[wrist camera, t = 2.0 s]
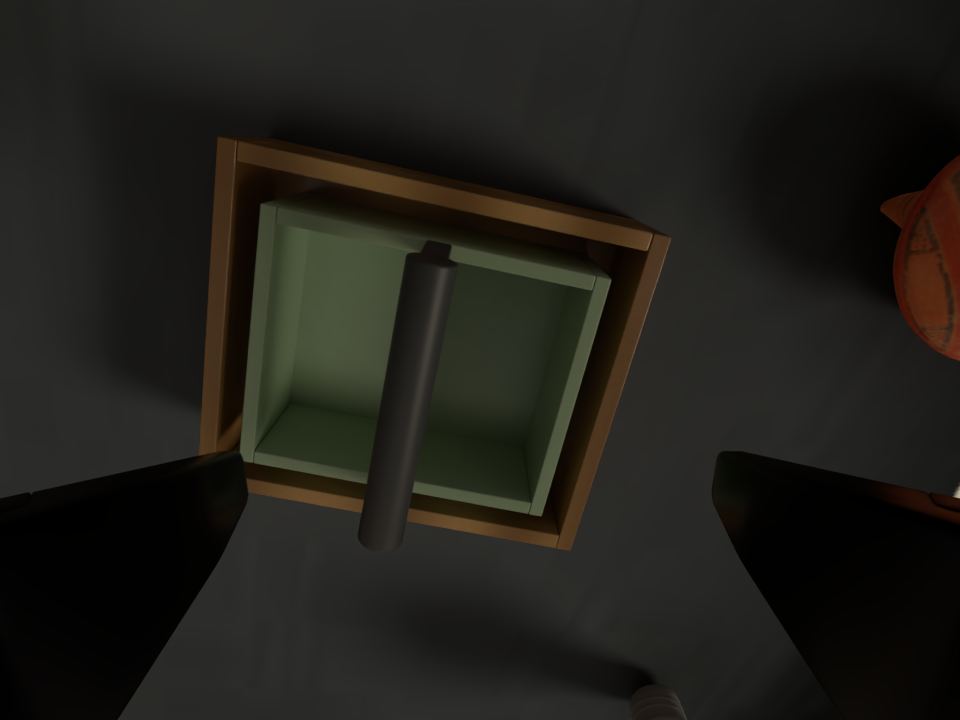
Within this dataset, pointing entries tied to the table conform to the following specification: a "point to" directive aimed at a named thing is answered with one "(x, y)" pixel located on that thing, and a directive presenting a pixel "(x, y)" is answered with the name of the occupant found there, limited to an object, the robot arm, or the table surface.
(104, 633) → the robot arm
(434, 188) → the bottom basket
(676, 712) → the lightbulb
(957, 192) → the pot
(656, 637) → the table surface
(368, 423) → the top basket
